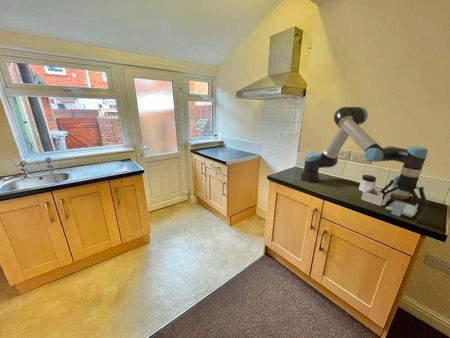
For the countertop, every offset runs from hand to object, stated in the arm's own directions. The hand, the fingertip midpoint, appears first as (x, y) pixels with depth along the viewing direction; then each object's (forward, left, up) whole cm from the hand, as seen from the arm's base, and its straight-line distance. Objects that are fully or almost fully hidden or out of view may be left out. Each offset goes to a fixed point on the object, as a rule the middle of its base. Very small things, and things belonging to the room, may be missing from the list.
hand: (398, 209), depth 110 cm
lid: (0, +9, -4) cm, 10 cm away
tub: (-15, +12, -4) cm, 19 cm away
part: (-17, +16, -3) cm, 23 cm away
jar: (-25, +23, -4) cm, 34 cm away
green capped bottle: (-7, +30, -4) cm, 31 cm away
